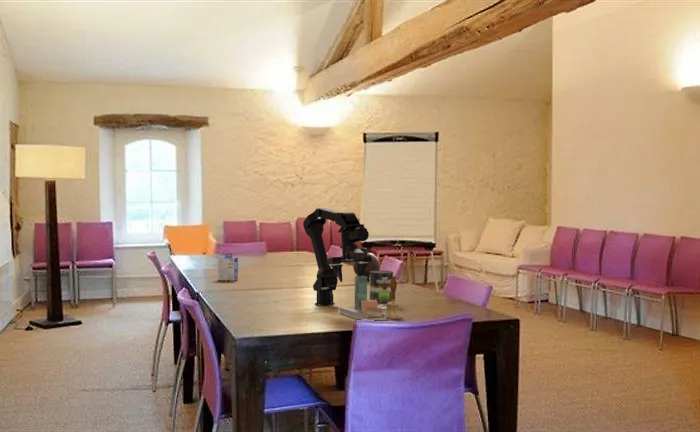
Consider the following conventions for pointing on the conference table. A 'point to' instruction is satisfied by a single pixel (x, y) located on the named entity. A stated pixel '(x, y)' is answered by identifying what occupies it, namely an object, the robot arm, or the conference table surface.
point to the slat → (364, 297)
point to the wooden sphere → (368, 266)
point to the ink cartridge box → (228, 268)
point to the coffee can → (380, 286)
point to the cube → (368, 305)
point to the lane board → (360, 314)
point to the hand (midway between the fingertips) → (351, 281)
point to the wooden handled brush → (393, 302)
